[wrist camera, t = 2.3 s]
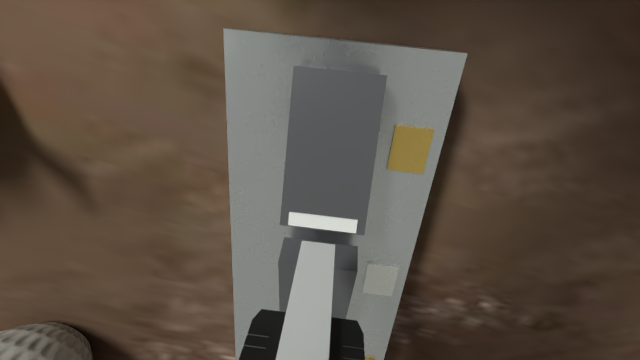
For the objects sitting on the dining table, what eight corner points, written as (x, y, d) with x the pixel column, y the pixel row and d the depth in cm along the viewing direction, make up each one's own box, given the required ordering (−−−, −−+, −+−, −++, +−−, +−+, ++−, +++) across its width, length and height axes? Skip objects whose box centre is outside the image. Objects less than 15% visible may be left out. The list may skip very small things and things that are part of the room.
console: (248, 29, 23) (218, 28, 18) (443, 49, 22) (471, 54, 17) (250, 345, 37) (234, 395, 32) (367, 361, 37) (371, 414, 32)
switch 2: (284, 237, 21) (277, 263, 20) (357, 246, 21) (357, 273, 20) (284, 305, 27) (279, 329, 25) (342, 313, 27) (341, 338, 25)
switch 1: (298, 70, 19) (293, 65, 17) (382, 79, 19) (387, 75, 16) (285, 214, 21) (279, 225, 18) (361, 224, 20) (364, 236, 18)
